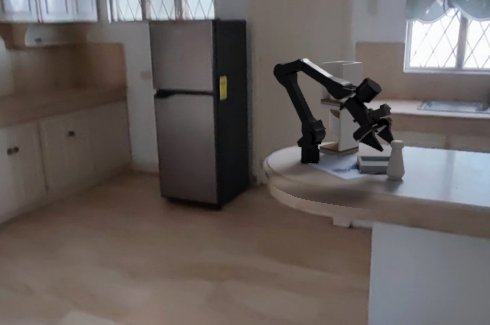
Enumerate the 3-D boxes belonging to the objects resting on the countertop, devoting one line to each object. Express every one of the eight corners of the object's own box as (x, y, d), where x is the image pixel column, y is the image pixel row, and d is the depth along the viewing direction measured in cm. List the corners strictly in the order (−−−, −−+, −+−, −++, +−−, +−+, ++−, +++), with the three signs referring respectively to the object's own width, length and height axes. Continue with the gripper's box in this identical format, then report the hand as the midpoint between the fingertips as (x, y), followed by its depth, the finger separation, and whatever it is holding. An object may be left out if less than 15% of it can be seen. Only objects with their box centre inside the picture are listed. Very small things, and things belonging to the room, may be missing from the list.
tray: (360, 172, 176) (361, 165, 175) (356, 161, 188) (357, 155, 187) (399, 172, 174) (399, 166, 174) (392, 162, 187) (393, 155, 186)
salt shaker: (404, 176, 170) (407, 139, 166) (403, 182, 165) (406, 143, 161) (386, 175, 172) (389, 138, 168) (385, 180, 167) (387, 142, 163)
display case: (338, 146, 211) (341, 60, 201) (358, 151, 203) (362, 62, 193) (319, 151, 204) (321, 62, 194) (339, 156, 196) (343, 64, 186)
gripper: (362, 100, 159) (394, 139, 155) (388, 93, 173) (418, 128, 169) (339, 122, 166) (369, 159, 162) (366, 113, 180) (394, 148, 176)
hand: (388, 148), depth 167 cm, fingers open, 9 cm apart
